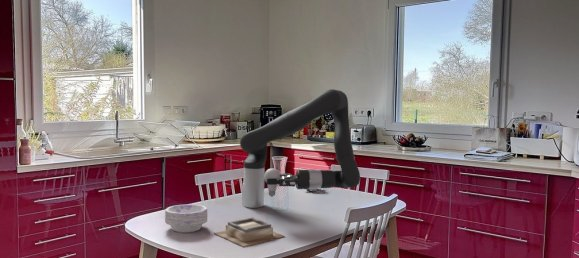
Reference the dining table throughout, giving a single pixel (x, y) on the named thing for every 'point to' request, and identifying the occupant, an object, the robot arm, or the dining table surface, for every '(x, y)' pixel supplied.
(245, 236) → the square tan tray
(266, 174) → the lightbulb
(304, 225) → the dining table surface
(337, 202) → the dining table surface
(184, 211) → the paper bowls
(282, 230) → the dining table surface
